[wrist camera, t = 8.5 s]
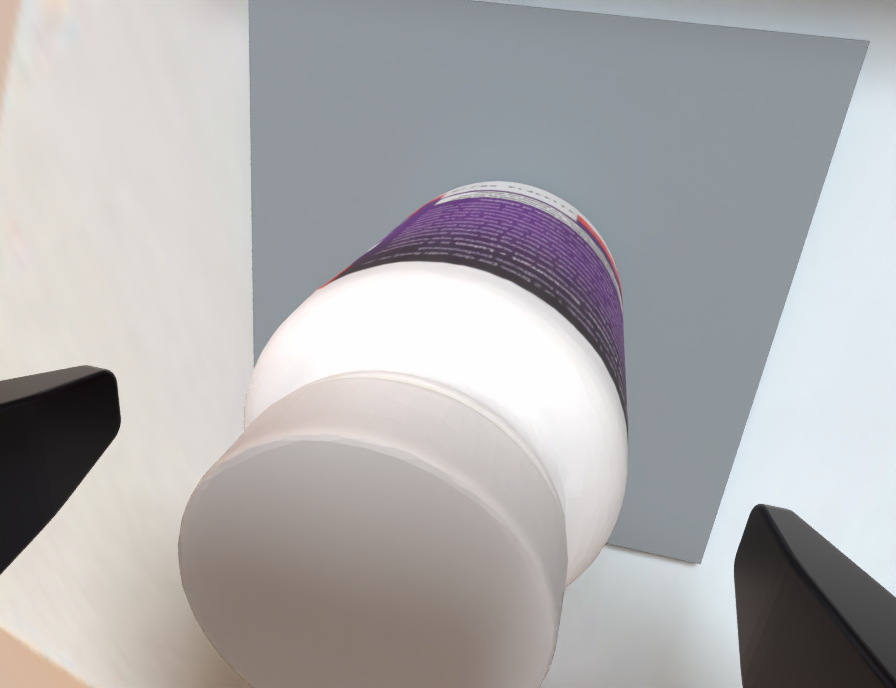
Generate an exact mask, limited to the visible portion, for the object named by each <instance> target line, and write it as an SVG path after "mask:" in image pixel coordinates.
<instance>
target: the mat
mask: <svg viewBox="0 0 896 688" xmlns="http://www.w3.org/2000/svg"><path fill="white" fill-rule="evenodd" d="M869 42H870V41H863V40H853V39H843V38H833V37H824V36H814V35H804V34H794V33H784V32H775V31H765V30H755V29H745V28H735V27H726V26H716V25H706V24H696V23H686V22H677V21H667V20H657V19H647V18H637V17H628V16H618V15H608V14H598V13H589V12H579V11H569V10H559V9H549V8H540V7H530V6H520V5H510V4H500V3H491V2H481V1H471V0H249V63H250V132H251V201H252V270H253V338H254V368H255V366H256V363H257V361H258V358H259V357H260V355H261V353H262V351H263V349H264V348H265V346H266V345H267V343H268V341H269V340H270V338H271V337H272V335H273V334H274V333H275V331H276V330H277V329H278V327H279V326H280V325H281V324H282V323H283V322H284V321H285V320H286V319H287V318H288V317H289V316H290V315H291V314H292V313H293V312H294V311H295V310H296V309H297V308H298V307H299V306H300V305H301V304H302V303H303V302H304V301H305V300H306V299H307V298H308V297H309V296H311V295H312V294H313V293H314V292H315V291H316V290H317V289H318V288H320V287H322V286H323V285H325V284H326V283H327V282H329V281H330V280H331V279H333V278H334V277H335V276H337V275H338V274H339V273H340V272H342V271H343V270H344V269H346V268H347V267H348V266H349V265H351V264H352V263H353V262H354V261H355V260H356V259H358V258H359V257H361V256H362V255H363V254H364V253H366V252H367V251H368V250H369V249H370V248H372V247H373V246H374V245H375V244H376V243H378V242H379V241H380V240H382V239H383V238H384V237H385V236H386V235H388V234H389V233H390V232H391V231H392V230H394V229H395V228H396V227H397V226H399V225H400V224H401V223H402V222H403V221H404V220H405V219H406V218H408V217H409V216H410V215H411V214H412V213H414V212H415V211H416V210H418V209H419V208H420V207H422V206H423V205H425V204H426V203H428V202H430V201H431V200H433V199H435V198H437V197H438V196H440V195H442V194H444V193H446V192H448V191H451V190H453V189H456V188H459V187H462V186H466V185H470V184H474V183H480V182H491V181H504V182H515V183H520V184H526V185H529V186H533V187H536V188H539V189H542V190H545V191H547V192H549V193H551V194H553V195H555V196H557V197H559V198H561V199H563V200H564V201H566V202H567V203H569V204H570V205H572V206H573V207H574V208H576V209H577V210H578V211H579V212H580V213H581V214H582V215H584V216H585V217H586V218H587V219H588V220H589V222H590V223H591V224H592V225H593V226H594V227H595V228H596V230H597V231H598V232H599V234H600V235H601V237H602V238H603V240H604V241H605V243H606V245H607V247H608V249H609V251H610V253H611V255H612V257H613V260H614V262H615V265H616V269H617V273H618V276H619V280H620V285H621V291H622V299H623V328H624V353H625V372H626V393H627V413H628V467H627V480H626V488H625V494H624V498H623V502H622V506H621V510H620V513H619V516H618V519H617V522H616V524H615V526H614V528H613V530H612V533H611V535H610V537H609V538H608V540H607V542H606V543H608V544H612V545H617V546H621V547H626V548H630V549H635V550H639V551H644V552H648V553H653V554H657V555H662V556H666V557H671V558H675V559H680V560H684V561H689V562H693V563H698V564H701V561H702V558H703V555H704V552H705V549H706V545H707V542H708V539H709V536H710V533H711V530H712V527H713V524H714V521H715V518H716V515H717V511H718V508H719V505H720V502H721V499H722V496H723V493H724V490H725V487H726V484H727V481H728V478H729V474H730V471H731V468H732V465H733V462H734V459H735V456H736V453H737V450H738V447H739V444H740V440H741V437H742V434H743V431H744V428H745V425H746V422H747V419H748V416H749V413H750V410H751V407H752V403H753V400H754V397H755V394H756V391H757V388H758V385H759V382H760V379H761V376H762V373H763V369H764V366H765V363H766V360H767V357H768V354H769V351H770V348H771V345H772V342H773V339H774V335H775V332H776V329H777V326H778V323H779V320H780V317H781V314H782V311H783V308H784V305H785V302H786V298H787V295H788V292H789V289H790V286H791V283H792V280H793V277H794V274H795V271H796V268H797V264H798V261H799V258H800V255H801V252H802V249H803V246H804V243H805V240H806V237H807V234H808V231H809V227H810V224H811V221H812V218H813V215H814V212H815V209H816V206H817V203H818V200H819V197H820V193H821V190H822V187H823V184H824V181H825V178H826V175H827V172H828V169H829V166H830V163H831V160H832V156H833V153H834V150H835V147H836V144H837V141H838V138H839V135H840V132H841V129H842V126H843V122H844V119H845V116H846V113H847V110H848V107H849V104H850V101H851V98H852V95H853V92H854V88H855V85H856V82H857V79H858V76H859V73H860V70H861V67H862V64H863V61H864V58H865V55H866V51H867V48H868V45H869Z"/></svg>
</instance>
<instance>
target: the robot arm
mask: <svg viewBox="0 0 896 688" xmlns="http://www.w3.org/2000/svg"><path fill="white" fill-rule="evenodd" d="M120 423H121V415H120V406H119V396H118V387H117V380H116V377H115V375H114V374H113V373H112V372H111V371H110V370H107V369H102V368H98V367H93V366H86V365H84V366H77V367H72V368H67V369H61V370H56V371H51V372H45V373H40V374H35V375H29V376H24V377H19V378H13V379H8V380H3V381H0V575H1V574H2V573H3V571H4V570H5V569H6V568H7V567H8V566H9V565H10V564H11V563H12V562H13V561H14V560H15V559H16V557H17V556H18V555H19V554H20V553H21V552H22V551H23V550H24V549H25V548H26V547H27V546H28V545H29V544H30V542H31V541H32V540H33V539H34V538H35V537H36V536H37V535H38V534H39V533H40V532H41V531H42V530H43V528H44V527H45V526H46V525H47V524H48V523H49V522H50V521H51V519H52V518H53V517H54V516H55V515H56V514H57V512H58V511H59V510H60V509H61V507H62V506H63V505H64V504H65V502H66V501H67V500H68V499H69V497H70V496H71V495H72V493H73V492H74V491H75V489H76V488H77V487H78V485H79V484H80V483H81V482H82V480H83V479H84V478H85V476H86V475H87V474H88V472H89V471H90V470H91V468H92V467H93V466H94V465H95V463H96V462H97V461H98V459H99V458H100V457H101V455H102V454H103V453H104V451H105V450H106V449H107V448H108V446H109V445H110V444H111V442H112V441H113V440H114V438H115V437H116V435H117V433H118V431H119V428H120ZM734 583H735V597H736V611H737V625H738V639H739V653H740V666H741V676H742V686H743V688H896V597H895V596H893V595H892V594H891V593H890V592H889V591H887V590H886V589H885V588H884V587H883V586H881V585H880V584H879V583H878V582H877V581H875V580H874V579H873V578H872V577H871V576H869V575H868V574H867V573H866V572H865V571H863V570H862V569H861V568H860V567H859V566H857V565H856V564H855V563H854V562H853V561H851V560H850V559H849V558H848V557H847V556H845V555H844V554H843V553H842V552H841V551H839V550H838V549H837V548H836V547H835V546H833V545H832V544H831V543H830V542H829V541H827V540H826V539H825V538H824V537H823V536H821V535H820V534H819V533H818V532H817V531H816V530H814V529H813V528H812V527H811V526H810V525H808V524H807V523H806V522H805V521H804V520H802V519H801V518H800V517H799V516H798V515H796V514H795V513H794V512H793V511H791V510H788V509H785V508H780V507H775V506H770V505H765V504H758V505H756V506H755V507H754V508H753V509H752V511H751V513H750V516H749V519H748V521H747V524H746V527H745V530H744V533H743V536H742V539H741V542H740V544H739V547H738V550H737V553H736V557H735V562H734Z"/></svg>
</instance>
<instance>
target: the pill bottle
mask: <svg viewBox="0 0 896 688" xmlns="http://www.w3.org/2000/svg"><path fill="white" fill-rule="evenodd" d="M627 467H628V413H627V393H626V372H625V353H624V328H623V299H622V291H621V285H620V280H619V276H618V273H617V269H616V265H615V262H614V260H613V257H612V255H611V253H610V251H609V249H608V247H607V245H606V243H605V241H604V240H603V238H602V237H601V235H600V234H599V232H598V231H597V230H596V228H595V227H594V226H593V225H592V224H591V223H590V222H589V220H588V219H587V218H586V217H585V216H584V215H582V214H581V213H580V212H579V211H578V210H577V209H576V208H574V207H573V206H572V205H570V204H569V203H567V202H566V201H564V200H563V199H561V198H559V197H557V196H555V195H553V194H551V193H549V192H547V191H545V190H542V189H539V188H536V187H533V186H529V185H526V184H520V183H515V182H504V181H491V182H480V183H474V184H470V185H466V186H462V187H459V188H456V189H453V190H451V191H448V192H446V193H444V194H442V195H440V196H438V197H437V198H435V199H433V200H431V201H430V202H428V203H426V204H425V205H423V206H422V207H420V208H419V209H418V210H416V211H415V212H414V213H412V214H411V215H410V216H409V217H408V218H406V219H405V220H404V221H403V222H402V223H401V224H400V225H399V226H397V227H396V228H395V229H394V230H392V231H391V232H390V233H389V234H388V235H386V236H385V237H384V238H383V239H382V240H380V241H379V242H378V243H376V244H375V245H374V246H373V247H372V248H370V249H369V250H368V251H367V252H366V253H364V254H363V255H362V256H361V257H359V258H358V259H356V260H355V261H354V262H353V263H352V264H351V265H349V266H348V267H347V268H346V269H344V270H343V271H342V272H340V273H339V274H338V275H337V276H335V277H334V278H333V279H331V280H330V281H329V282H327V283H326V284H325V285H323V286H322V287H320V288H318V289H317V290H316V291H315V292H314V293H313V294H312V295H311V296H309V297H308V298H307V299H306V300H305V301H304V302H303V303H302V304H301V305H300V306H299V307H298V308H297V309H296V310H295V311H294V312H293V313H292V314H291V315H290V316H289V317H288V318H287V319H286V320H285V321H284V322H283V323H282V324H281V325H280V326H279V327H278V329H277V330H276V331H275V333H274V334H273V335H272V337H271V338H270V340H269V341H268V343H267V345H266V346H265V348H264V349H263V351H262V353H261V355H260V357H259V358H258V361H257V363H256V366H255V368H254V370H253V373H252V375H251V378H250V382H249V386H248V390H247V394H246V400H245V406H244V432H243V433H242V435H241V436H240V437H239V438H238V439H237V441H236V442H235V443H234V444H233V445H232V446H231V447H230V448H229V449H228V450H227V451H226V453H225V454H224V455H223V456H222V457H221V458H220V459H219V460H218V461H217V462H216V463H215V464H214V465H213V466H212V467H211V468H210V470H209V471H208V472H207V473H206V474H205V475H204V476H203V478H202V479H201V481H200V482H199V484H198V485H197V487H196V488H195V490H194V492H193V493H192V495H191V497H190V499H189V502H188V504H187V506H186V509H185V512H184V515H183V518H182V522H181V529H180V535H179V542H178V557H179V567H180V574H181V579H182V585H183V588H184V591H185V594H186V596H187V599H188V602H189V604H190V607H191V609H192V611H193V613H194V616H195V618H196V620H197V621H198V623H199V625H200V627H201V628H202V630H203V632H204V633H205V635H206V636H207V638H208V639H209V640H210V642H211V643H212V644H213V646H214V647H215V649H216V650H217V651H218V653H219V654H220V655H221V656H222V657H223V659H224V660H225V661H226V662H227V663H228V664H229V665H230V666H231V667H232V668H233V670H234V671H235V672H236V673H237V674H238V675H239V676H240V677H241V678H242V679H244V680H245V681H246V682H247V683H248V684H249V685H250V686H251V687H253V688H539V687H540V686H541V684H542V682H543V680H544V678H545V676H546V674H547V672H548V670H549V667H550V665H551V662H552V659H553V656H554V652H555V647H556V642H557V636H558V629H559V622H560V615H561V608H562V602H563V595H564V590H565V588H566V587H567V586H568V585H569V584H571V583H572V582H573V581H574V580H575V579H577V578H578V577H579V576H580V575H581V574H582V573H583V572H584V571H585V570H586V569H587V568H588V567H589V566H590V564H591V563H592V562H593V561H594V560H595V558H596V557H597V555H598V554H599V552H600V551H601V549H602V548H603V547H604V545H605V544H606V542H607V540H608V538H609V537H610V535H611V533H612V530H613V528H614V526H615V524H616V522H617V519H618V516H619V513H620V510H621V506H622V502H623V498H624V494H625V488H626V480H627Z"/></svg>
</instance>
